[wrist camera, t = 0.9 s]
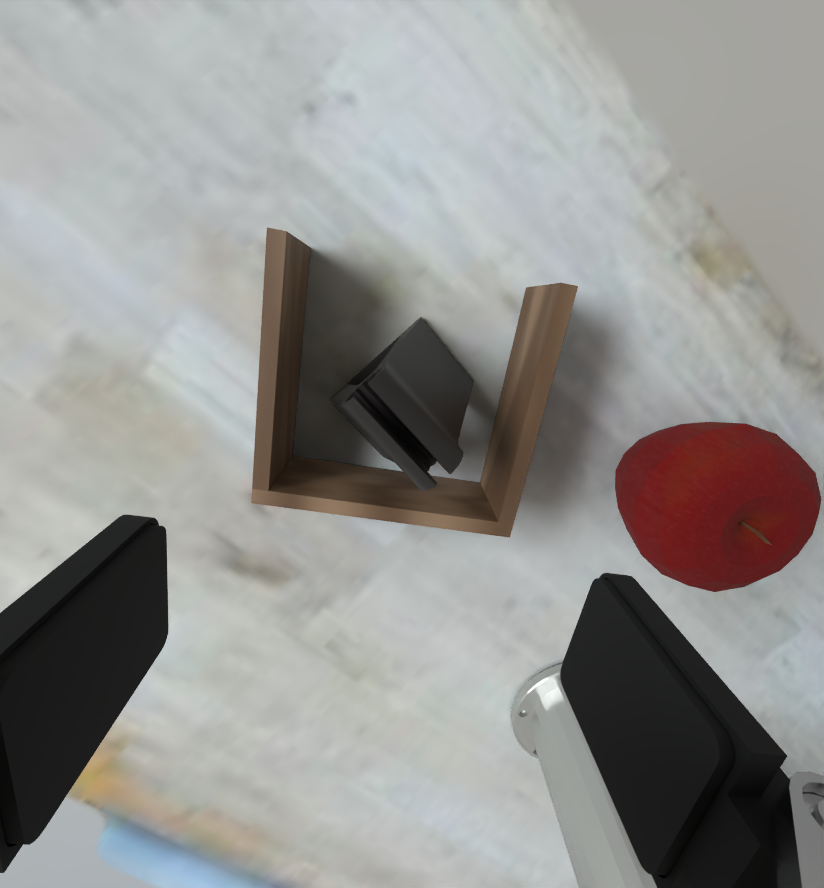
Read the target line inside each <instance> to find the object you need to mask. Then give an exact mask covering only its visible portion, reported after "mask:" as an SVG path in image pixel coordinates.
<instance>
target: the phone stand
mask: <svg viewBox="0 0 824 888" xmlns="http://www.w3.org/2000/svg"><path fill="white" fill-rule="evenodd" d="M472 385H473V380H472V378H471V377H470V376H469V375H468V373H467V372H466V371H465V370H464V369H463V367H462V366H461V365H460V364H459V362H458V361H457V360H456V359H455V358H454V356H453V355H452V354H451V353H450V352H449V350H448V349H447V348H446V347H445V345H444V344H443V343H442V342H441V341H440V339H439V338H438V337H437V336H436V335H435V333H434V332H433V331H432V330H431V328H430V327H429V326H428V325H427V324H426V322H425V321H424V320H423V319H422V317H421V318H419V319H418V320H417V321H416V322H415V323H414V324H413V325H411V326H410V327H409V328H408V329H407V330H406V331H405V332H404V333H403V334H401V335H400V336H399V337H398V338H397V339H396V340H395V341H394V342H393V343H391V344H390V345H389V346H388V347H387V348H386V349H385V350H384V351H383V352H381V353H380V354H379V355H378V356H377V357H376V358H375V359H374V360H373V361H371V362H370V363H369V364H368V365H367V366H366V367H365V368H364V369H363V370H361V371H360V372H359V373H358V374H357V375H356V376H355V377H354V378H353V379H351V380H350V381H349V382H348V383H347V384H346V385H345V386H344V387H343V388H342V389H340V390H339V391H338V392H337V393H336V394H335V395H334V396H333V397H332V398H331V399H330V400H329V401H330V402H331V403H332V404H333V405H334V406H335V407H336V408H337V409H338V410H339V411H340V412H341V413H342V414H343V415H344V416H345V417H346V418H347V419H348V421H349V422H350V423H351V424H352V425H353V426H354V427H355V428H356V429H357V430H358V431H359V432H360V433H361V434H362V435H363V436H364V437H365V438H366V439H367V440H368V441H369V442H370V444H371V445H372V446H373V447H374V448H375V449H376V450H377V451H378V452H379V453H380V454H381V455H382V456H383V457H385V458H387V459H389V460H391V461H393V462H395V463H396V464H397V465H398V466H399V467H400V468H401V469H402V471H403V472H404V473H405V474H406V475H407V476H408V477H409V478H410V479H411V480H412V481H413V482H414V483H415V484H416V485H417V486H418V487H419V488H420V489H421V490H429V489H431V488H433V487H435V486H436V485H437V482H436V481H435V480H434V479H433V478H432V476H431V475H430V474H429V473H428V472H427V471H429V469H430V466H432V465H434V464H435V463H436V461H438V462H439V463H440V464H441V466H442V467H443V468H444V469H445V470H446V471H447V472H448V473H449V474H452V472H453V471H454V470H455V469H456V468H457V466H458V465H459V463H460V462H461V460H462V457H463V451H462V450H461V449H460V448H459V447H458V438H459V434H460V430H461V427H462V423H463V419H464V415H465V411H466V408H467V404H468V400H469V396H470V392H471V389H472Z"/></svg>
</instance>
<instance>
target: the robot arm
mask: <svg viewBox="0 0 824 888" xmlns="http://www.w3.org/2000/svg"><path fill="white" fill-rule="evenodd" d="M167 635H168V589H167V542H166V529H165V527H163V526H159V524H158V521H157V520H156V519H155V518H150V517H142V516H134V515H122V516H121V517H119V518H118V519H116V520H115V521H114V522H113V523H111V524H110V525H109V526H108V527H107V528H105V529H104V530H103V531H102V532H100V533H99V534H98V535H97V536H95V537H94V538H93V539H92V540H90V541H89V542H88V543H87V544H85V545H84V546H83V547H82V548H80V549H79V550H78V551H77V552H75V553H74V554H73V555H72V556H70V557H69V558H68V559H67V560H66V561H64V562H63V563H62V564H61V565H59V566H58V567H57V568H56V569H54V570H53V571H52V572H51V573H49V574H48V575H47V576H46V577H44V578H43V579H42V580H41V581H39V582H38V583H37V584H36V585H34V586H33V587H32V588H31V589H30V590H28V591H27V592H26V593H25V594H23V595H22V596H21V597H20V598H18V599H17V600H16V601H15V602H13V603H12V604H11V605H10V606H8V607H7V608H6V609H5V610H3V611H2V612H1V613H0V873H4V872H5V871H6V869H7V867H8V866H9V865H10V863H11V862H12V860H13V858H14V857H15V856H16V854H17V853H18V851H19V850H20V848H21V847H22V845H23V844H31V843H33V842H34V841H35V840H36V839H37V838H38V837H39V836H40V834H41V833H42V831H43V830H44V829H45V827H46V826H47V824H48V823H49V821H50V820H51V818H52V817H53V815H54V814H55V812H56V810H57V809H58V808H59V806H60V804H61V803H62V801H63V800H64V798H65V797H66V795H67V794H68V792H69V791H70V789H71V788H72V786H73V785H74V783H75V782H76V780H77V778H78V777H79V775H80V774H81V772H82V771H83V769H84V768H85V766H86V765H87V763H88V762H89V760H90V759H91V757H92V756H93V754H94V752H95V751H96V749H97V748H98V746H99V745H100V743H101V742H102V740H103V739H104V737H105V736H106V734H107V733H108V731H109V730H110V728H111V727H112V725H113V723H114V722H115V720H116V719H117V717H118V716H119V714H120V713H121V711H122V710H123V708H124V707H125V705H126V704H127V702H128V701H129V699H130V697H131V696H132V694H133V693H134V691H135V690H136V688H137V687H138V685H139V684H140V682H141V681H142V679H143V678H144V676H145V675H146V673H147V671H148V670H149V668H150V667H151V665H152V664H153V662H154V661H155V659H156V658H157V656H158V655H159V653H160V652H161V650H162V648H163V647H164V644H165V642H166V639H167ZM511 723H512V727H513V731H514V734H515V737H516V739H517V741H518V743H519V744H520V745H521V747H522V748H523V749H524V750H525V751H526V752H528V753H529V754H531V755H532V756H534V757H536V758H538V759H539V762H540V765H541V768H542V771H543V774H544V778H545V781H546V784H547V787H548V790H549V794H550V797H551V800H552V803H553V806H554V809H555V813H556V816H557V819H558V822H559V825H560V829H561V832H562V835H563V838H564V841H565V845H566V848H567V851H568V854H569V857H570V860H571V864H572V867H573V870H574V873H575V876H576V880H577V883H578V886H579V888H824V776H822V775H818V774H815V773H811V772H797V773H796V774H794V775H793V776H792V777H790V779H789V778H788V777H787V776H786V775H785V773H784V772H783V771H782V770H781V769H780V767H781V765H782V764H783V762H784V760H785V759H786V757H787V755H786V754H785V753H784V752H783V751H782V749H781V748H780V747H779V746H778V745H777V744H776V742H775V741H774V740H773V739H772V738H771V737H770V735H769V734H768V733H767V732H766V731H765V730H764V728H763V727H762V726H761V725H760V724H759V723H758V722H757V720H756V719H755V718H754V717H753V716H752V715H751V713H750V712H749V711H748V710H747V709H746V708H745V706H744V705H743V704H742V703H741V702H740V701H739V699H738V698H737V697H736V696H735V695H734V694H733V693H732V691H731V690H730V689H729V688H728V687H727V686H726V684H725V683H724V682H723V681H722V680H721V679H720V677H719V676H718V675H717V674H716V673H715V672H714V670H713V669H712V668H711V667H710V666H709V665H708V663H707V662H706V661H705V660H704V659H703V658H702V657H701V655H700V654H699V653H698V652H697V651H696V650H695V648H694V647H693V646H692V645H691V644H690V643H689V641H688V640H687V639H686V638H685V637H684V636H683V634H682V633H681V632H680V631H679V630H678V629H677V628H676V626H675V625H674V624H673V623H672V622H671V621H670V619H669V618H668V617H667V616H666V615H665V614H664V612H663V611H662V610H661V609H660V608H659V607H658V605H657V604H656V603H655V602H654V601H653V600H652V599H651V597H650V596H649V595H648V594H647V593H646V592H645V590H644V589H643V588H642V587H641V586H640V585H639V583H638V582H637V581H636V580H635V579H634V578H633V577H631V576H627V575H619V574H611V573H604V574H602V575H601V576H600V578H599V579H598V578H597V579H595V580H594V581H593V583H592V585H591V587H590V590H589V593H588V595H587V598H586V601H585V604H584V606H583V609H582V612H581V615H580V617H579V620H578V623H577V625H576V628H575V631H574V634H573V636H572V639H571V642H570V645H569V647H568V650H567V653H566V655H565V658H564V661H563V663H562V664H559V665H556V666H553V667H550V668H548V669H546V670H544V671H542V672H541V673H539V674H537V675H536V676H535V677H533V678H532V679H531V680H529V681H528V682H527V683H526V684H525V685H524V686H523V688H522V689H521V690H520V691H519V693H518V695H517V696H516V698H515V700H514V703H513V705H512V710H511Z"/></svg>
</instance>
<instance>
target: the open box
mask: <svg viewBox="0 0 824 888" xmlns="http://www.w3.org/2000/svg"><path fill="white" fill-rule="evenodd" d="M310 249H311V248H310V247H309V246H307V245H306V244H305V243H303V242H302V241H300V240H299V239H297V238H296V237H294V236H293V235H291V234H290V233H288V232H287V231H282V230H277V229H272V228H267V237H266V255H265V273H264V290H263V308H262V326H261V344H260V361H259V379H258V397H257V415H256V432H255V450H254V468H253V485H252V503H255V504H262V505H270V506H277V507H285V508H293V509H300V510H308V511H315V512H323V513H330V514H338V515H345V516H353V517H360V518H368V519H375V520H383V521H390V522H398V523H405V524H413V525H421V526H428V527H436V528H443V529H451V530H458V531H466V532H473V533H481V534H488V535H496V536H503V537H510V534H511V531H512V527H513V523H514V520H515V516H516V512H517V509H518V505H519V501H520V498H521V494H522V490H523V487H524V483H525V479H526V476H527V472H528V468H529V465H530V461H531V457H532V453H533V450H534V446H535V442H536V439H537V435H538V431H539V428H540V424H541V420H542V417H543V413H544V409H545V406H546V402H547V398H548V395H549V391H550V387H551V384H552V380H553V376H554V373H555V369H556V365H557V362H558V358H559V354H560V350H561V347H562V343H563V339H564V336H565V332H566V328H567V325H568V321H569V317H570V314H571V310H572V306H573V303H574V299H575V295H576V292H577V288H578V286H574V285H569V284H564V283H557V284H549V285H542V286H535V287H528V288H526V291H525V295H524V299H523V304H522V308H521V312H520V316H519V320H518V325H517V329H516V333H515V337H514V342H513V346H512V350H511V354H510V359H509V363H508V367H507V371H506V375H505V380H504V384H503V388H502V392H501V397H500V401H499V405H498V409H497V413H496V418H495V422H494V426H493V430H492V435H491V439H490V443H489V447H488V451H487V456H486V460H485V464H484V468H483V473H482V477H481V481H480V483H478V482H471V481H464V480H457V479H450V478H443V477H436V476H432V478H433V479H434V480H435V481H436V482H437V485H436V486H435V487H433V488H431V489H429V490H421V489H420V488H419V487H418V486H417V485H416V484H415V483H414V482H413V481H412V480H411V479H410V478H409V477H408V476H407V475H406V474H405V473H404V472H401V471H394V470H387V469H380V468H373V467H366V466H359V465H352V464H345V463H338V462H331V461H324V460H317V459H310V458H303V457H296V456H293V446H294V434H295V423H296V411H297V399H298V388H299V376H300V365H301V353H302V341H303V330H304V318H305V307H306V295H307V283H308V272H309V260H310Z"/></svg>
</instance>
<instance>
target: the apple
mask: <svg viewBox="0 0 824 888" xmlns="http://www.w3.org/2000/svg"><path fill="white" fill-rule="evenodd" d="M615 490H616V497H617V504H618V509H619V511H620V514H621V516H622V519H623V521H624V524H625V526H626V529H627V530H628V532H629V534H630V536H631V537H632V539H633V541H634V543H635V544H636V546H637V548H638V550H639V551H640V553H641V555H642V556H643V557H644V558H645V559H646V560H647V561H648V562H649V563H651V564H652V565H653V566H654V567H655V568H656V569H657V570H658V571H659V572H660V573H661V574H663V575H665V576H668V577H670V578H672V579H675V580H677V581H679V582H681V583H684V584H686V585H688V586H692V587H697V588H701V589H705V590H709V591H713V592H717V591H723V590H728V589H734V588H740V587H745V586H747V585H749V584H751V583H754V582H756V581H758V580H760V579H762V578H765V577H767V576H769V575H771V574H774V573H776V572H778V571H780V570H781V569H782V568H783V567H784V566H785V565H787V564H788V563H789V562H790V561H791V560H792V559H793V558H794V557H795V556H797V555H798V554H799V552H800V551H801V549H802V548H803V547H804V545H805V544H806V542H807V541H808V540H809V538H810V537H811V536H812V534H813V530H814V527H815V524H816V521H817V518H818V514H819V509H820V503H821V496H820V491H819V487H818V482H817V478H816V474H815V472H814V471H813V470H812V469H811V468H810V467H809V465H808V464H807V463H806V462H805V461H804V460H803V459H802V457H801V456H800V455H799V454H798V453H797V452H796V451H795V450H794V449H792V448H791V447H790V446H789V445H788V444H787V443H786V442H785V441H783V440H782V439H781V438H780V437H779V436H778V435H777V434H774V433H771V432H768V431H765V430H763V429H760V428H757V427H754V426H751V425H748V424H740V423H719V422H703V423H691V424H681V425H677V426H674V427H670V428H667V429H663V430H659V431H657V432H655V433H652V434H650V435H648V436H646V437H644V438H642V439H640V440H638V441H637V442H636V443H635V444H634V445H633V446H632V447H631V448H630V449H629V450H627V451H626V452H625V453H624V455H623V457H622V459H621V461H620V463H619V465H618V467H617V469H616V477H615Z"/></svg>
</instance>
